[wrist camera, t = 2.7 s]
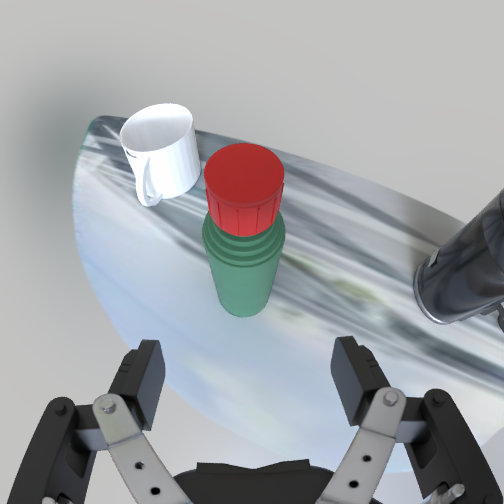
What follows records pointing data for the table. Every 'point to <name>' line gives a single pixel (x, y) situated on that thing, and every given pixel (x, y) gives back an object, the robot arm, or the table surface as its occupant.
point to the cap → (244, 188)
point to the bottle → (243, 265)
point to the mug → (161, 151)
